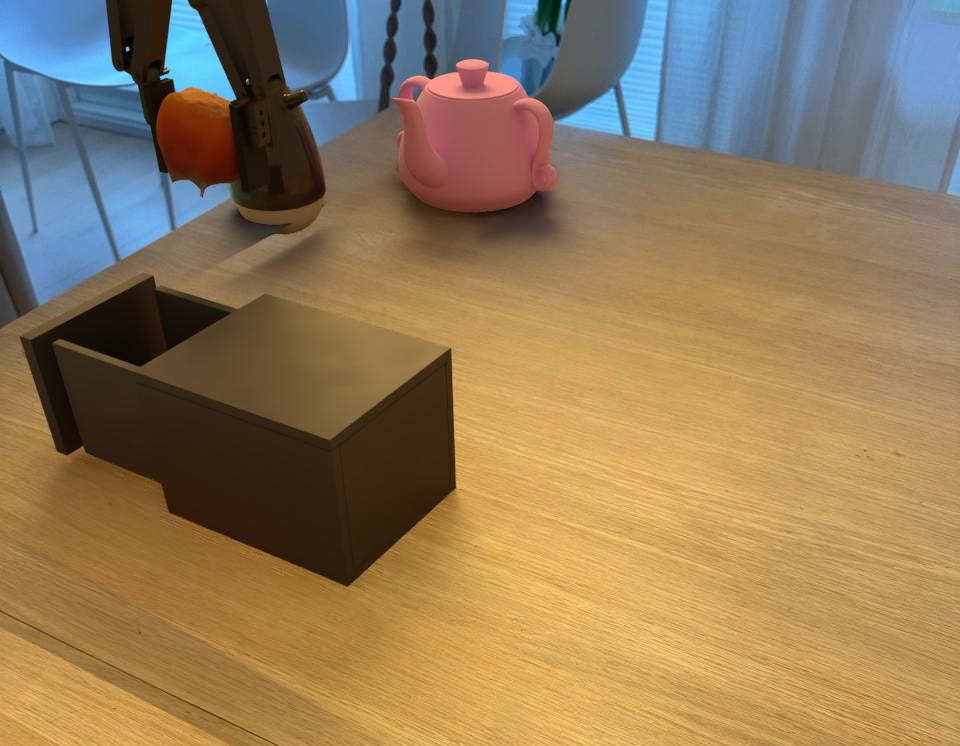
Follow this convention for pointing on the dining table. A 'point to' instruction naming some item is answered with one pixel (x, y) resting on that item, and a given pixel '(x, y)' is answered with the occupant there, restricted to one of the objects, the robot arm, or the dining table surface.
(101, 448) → the drawer
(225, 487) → the cabinet
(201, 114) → the fruit
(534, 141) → the teapot
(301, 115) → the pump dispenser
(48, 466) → the dining table surface
